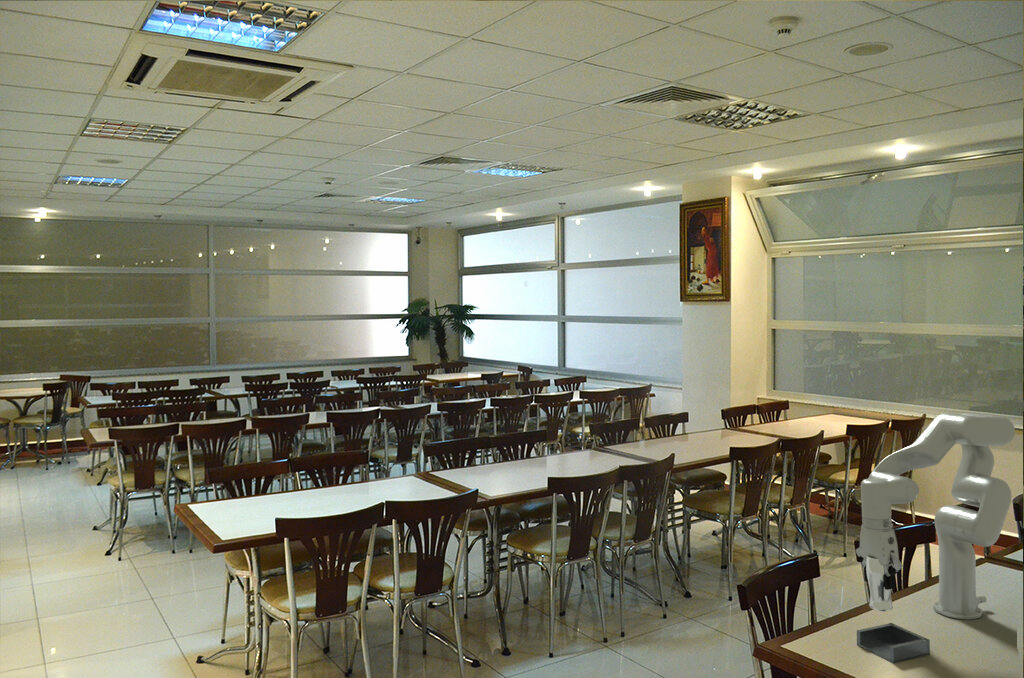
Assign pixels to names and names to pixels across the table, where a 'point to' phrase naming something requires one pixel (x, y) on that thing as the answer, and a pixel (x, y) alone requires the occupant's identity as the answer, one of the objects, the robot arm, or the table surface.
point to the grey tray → (893, 642)
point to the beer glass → (877, 585)
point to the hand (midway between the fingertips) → (879, 584)
